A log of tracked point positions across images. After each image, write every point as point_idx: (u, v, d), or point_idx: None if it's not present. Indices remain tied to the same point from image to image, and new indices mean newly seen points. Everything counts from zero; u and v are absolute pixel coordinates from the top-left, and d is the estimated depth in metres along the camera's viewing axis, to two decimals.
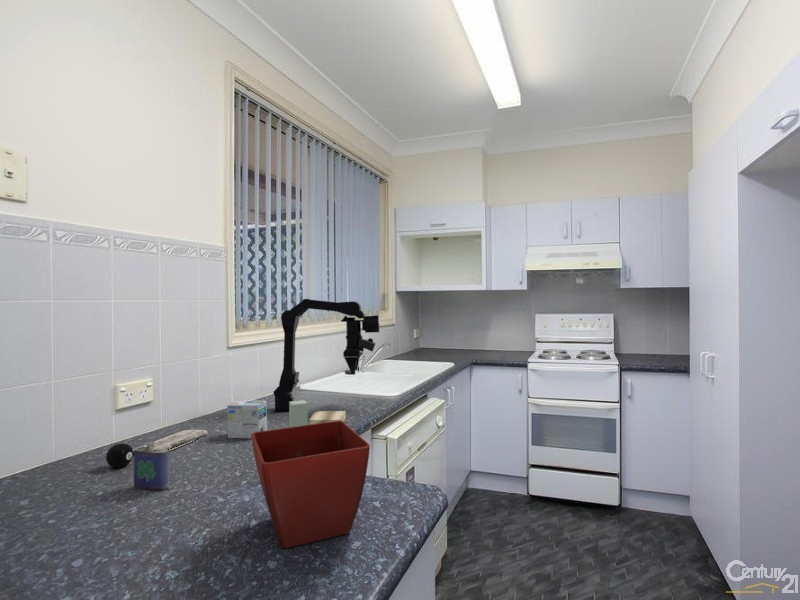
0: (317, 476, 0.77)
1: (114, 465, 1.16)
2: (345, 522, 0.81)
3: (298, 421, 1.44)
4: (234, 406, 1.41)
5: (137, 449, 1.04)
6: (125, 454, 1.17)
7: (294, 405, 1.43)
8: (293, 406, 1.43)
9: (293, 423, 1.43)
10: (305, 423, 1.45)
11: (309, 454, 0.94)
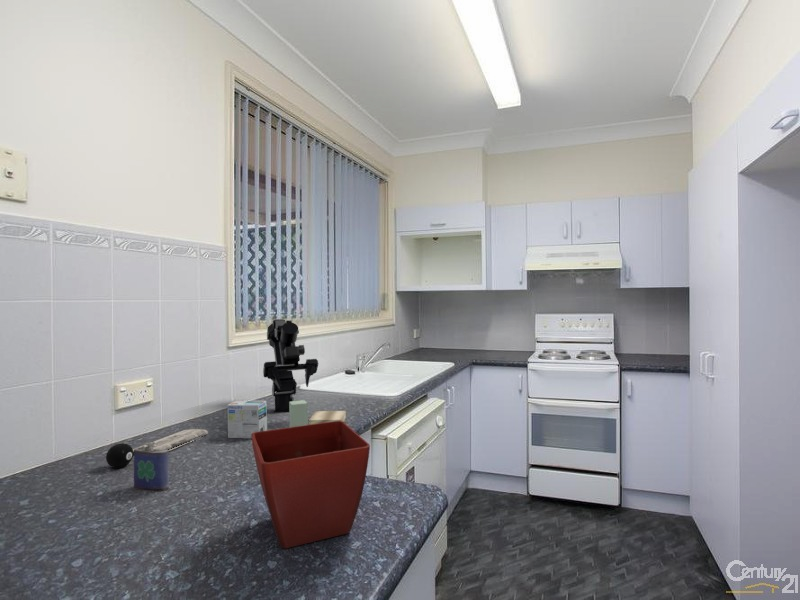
0: (317, 476, 0.77)
1: (114, 465, 1.16)
2: (345, 522, 0.81)
3: (298, 421, 1.44)
4: (234, 406, 1.41)
5: (137, 449, 1.04)
6: (125, 454, 1.17)
7: (294, 405, 1.43)
8: (293, 406, 1.43)
9: (293, 423, 1.43)
10: (305, 423, 1.45)
11: (309, 454, 0.94)
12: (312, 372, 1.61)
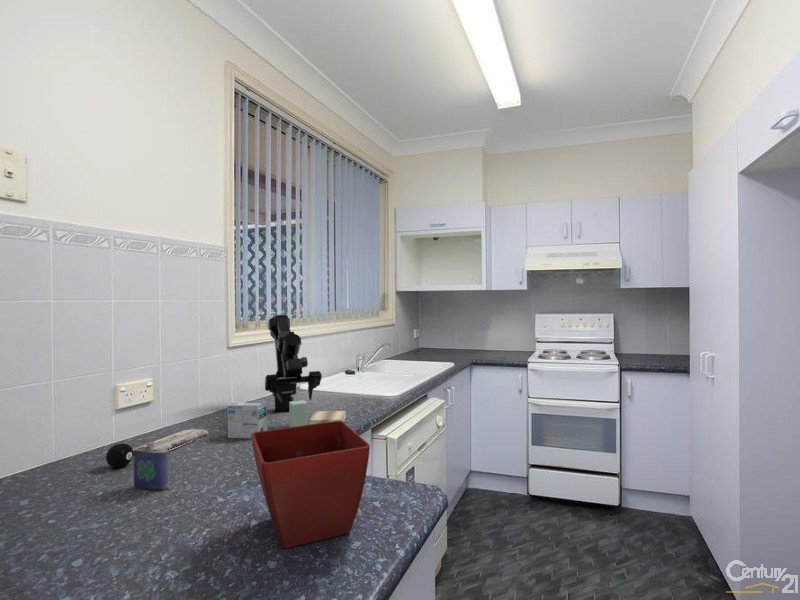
0: (317, 476, 0.77)
1: (114, 465, 1.16)
2: (345, 522, 0.81)
3: (298, 421, 1.44)
4: (234, 406, 1.41)
5: (137, 449, 1.04)
6: (125, 454, 1.17)
7: (294, 405, 1.43)
8: (293, 406, 1.43)
9: (293, 423, 1.43)
10: (305, 423, 1.45)
11: (309, 454, 0.94)
12: (315, 385, 1.57)
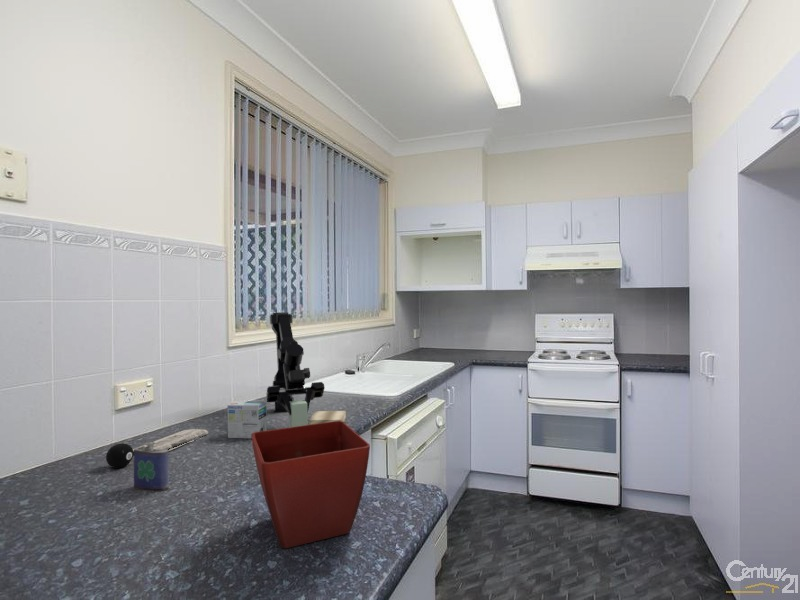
0: (317, 476, 0.77)
1: (114, 465, 1.16)
2: (345, 522, 0.81)
3: (298, 421, 1.44)
4: (234, 406, 1.41)
5: (137, 449, 1.04)
6: (125, 454, 1.17)
7: (294, 405, 1.43)
8: (293, 406, 1.43)
9: (293, 423, 1.43)
10: (305, 423, 1.45)
11: (309, 454, 0.94)
12: (312, 397, 1.52)
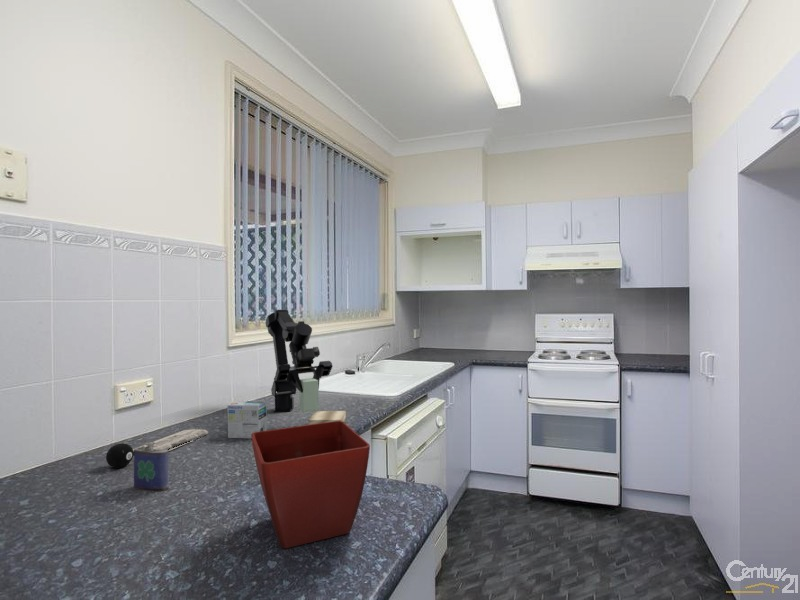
0: (317, 476, 0.77)
1: (114, 465, 1.16)
2: (345, 522, 0.81)
3: (310, 398, 1.47)
4: (234, 406, 1.41)
5: (137, 449, 1.04)
6: (125, 454, 1.17)
7: (306, 382, 1.46)
8: (305, 383, 1.46)
9: (305, 400, 1.46)
10: (316, 400, 1.48)
11: (309, 454, 0.94)
12: (320, 375, 1.55)
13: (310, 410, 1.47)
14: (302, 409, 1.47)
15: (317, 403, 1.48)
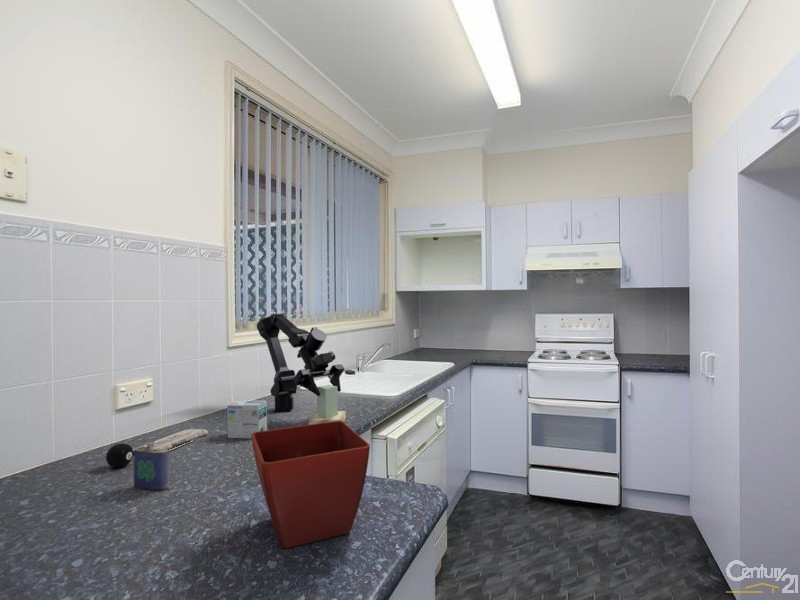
0: (317, 476, 0.77)
1: (114, 465, 1.16)
2: (345, 522, 0.81)
3: (331, 404, 1.54)
4: (234, 406, 1.41)
5: (137, 449, 1.04)
6: (125, 454, 1.17)
7: (327, 389, 1.53)
8: (327, 390, 1.53)
9: (327, 406, 1.53)
10: (336, 405, 1.56)
11: (309, 454, 0.94)
12: None
13: (331, 415, 1.54)
14: (323, 415, 1.54)
15: (336, 408, 1.56)
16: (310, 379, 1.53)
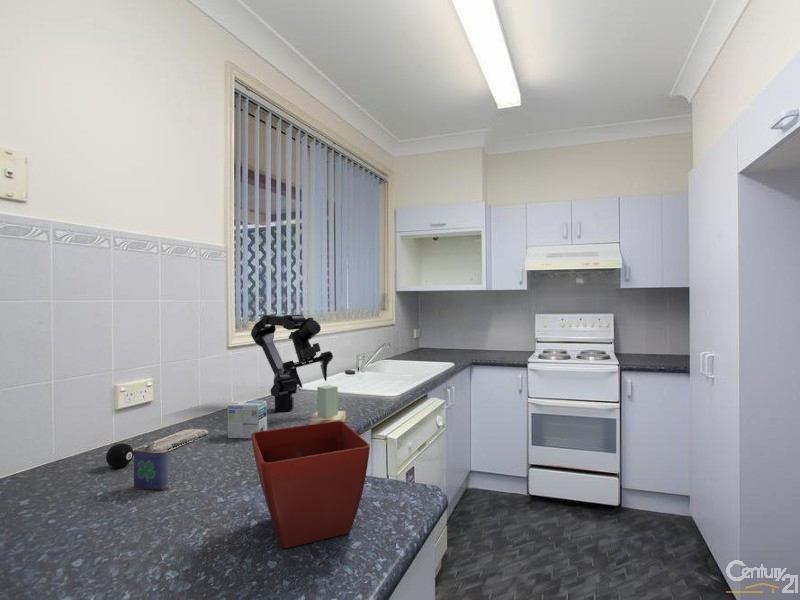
0: (317, 476, 0.77)
1: (114, 465, 1.16)
2: (345, 522, 0.81)
3: (331, 404, 1.54)
4: (234, 406, 1.41)
5: (137, 449, 1.04)
6: (125, 454, 1.17)
7: (327, 389, 1.53)
8: (327, 390, 1.53)
9: (327, 406, 1.53)
10: (336, 405, 1.56)
11: (309, 454, 0.94)
12: (327, 363, 1.69)
13: (331, 415, 1.54)
14: (323, 415, 1.54)
15: (336, 408, 1.56)
16: (293, 372, 1.61)
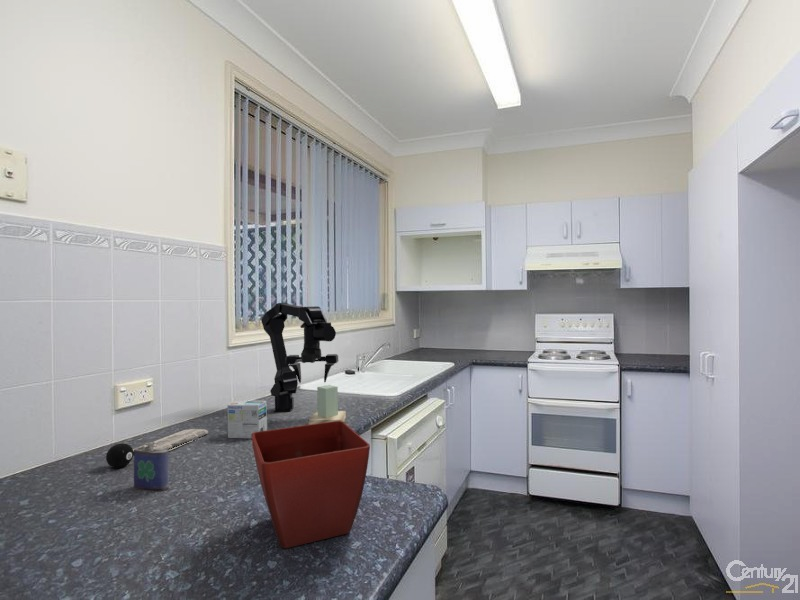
0: (317, 476, 0.77)
1: (114, 465, 1.16)
2: (345, 522, 0.81)
3: (331, 404, 1.54)
4: (234, 406, 1.41)
5: (137, 449, 1.04)
6: (125, 454, 1.17)
7: (327, 389, 1.53)
8: (327, 390, 1.53)
9: (327, 406, 1.53)
10: (336, 405, 1.56)
11: (309, 454, 0.94)
12: (333, 364, 1.66)
13: (331, 415, 1.54)
14: (323, 415, 1.54)
15: (336, 408, 1.56)
16: (294, 368, 1.63)
